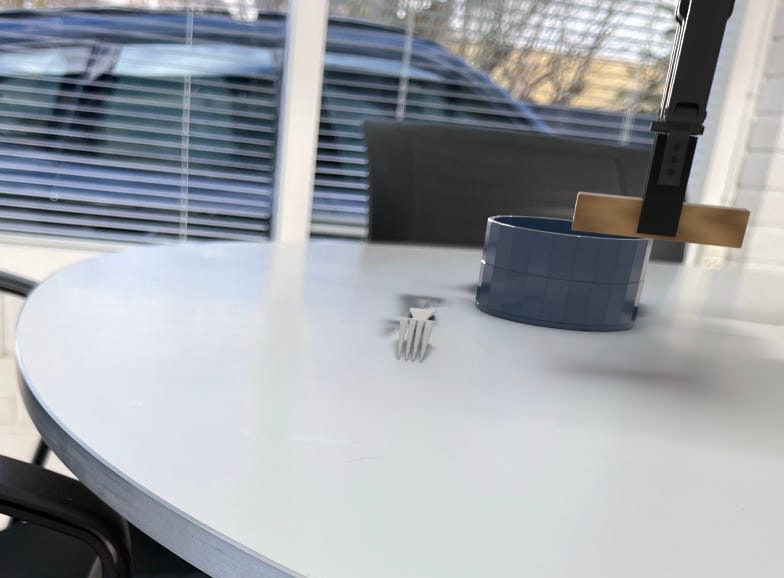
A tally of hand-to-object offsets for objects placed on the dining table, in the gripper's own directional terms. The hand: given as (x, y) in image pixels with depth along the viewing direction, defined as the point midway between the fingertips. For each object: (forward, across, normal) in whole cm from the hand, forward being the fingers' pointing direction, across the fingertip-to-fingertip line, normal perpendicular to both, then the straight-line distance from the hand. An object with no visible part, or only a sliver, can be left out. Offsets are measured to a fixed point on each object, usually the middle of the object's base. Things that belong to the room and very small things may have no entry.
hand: (655, 231), depth 77 cm
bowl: (+10, -23, -6) cm, 26 cm away
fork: (+10, -4, -17) cm, 20 cm away
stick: (0, 0, 0) cm, 0 cm away
